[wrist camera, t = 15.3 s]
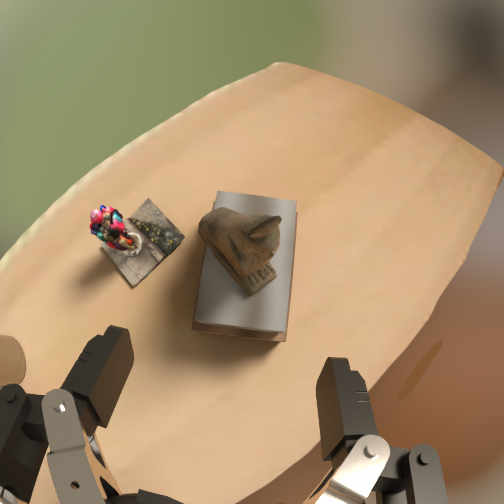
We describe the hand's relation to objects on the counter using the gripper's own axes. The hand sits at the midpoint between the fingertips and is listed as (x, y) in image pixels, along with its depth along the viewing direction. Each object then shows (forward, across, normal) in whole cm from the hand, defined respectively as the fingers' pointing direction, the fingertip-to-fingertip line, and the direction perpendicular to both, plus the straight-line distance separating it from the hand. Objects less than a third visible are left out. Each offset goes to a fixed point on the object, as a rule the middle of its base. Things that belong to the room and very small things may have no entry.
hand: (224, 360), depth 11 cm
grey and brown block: (+29, 0, +14) cm, 32 cm away
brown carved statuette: (+22, +1, +7) cm, 23 cm away
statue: (+31, +16, +12) cm, 37 cm away
